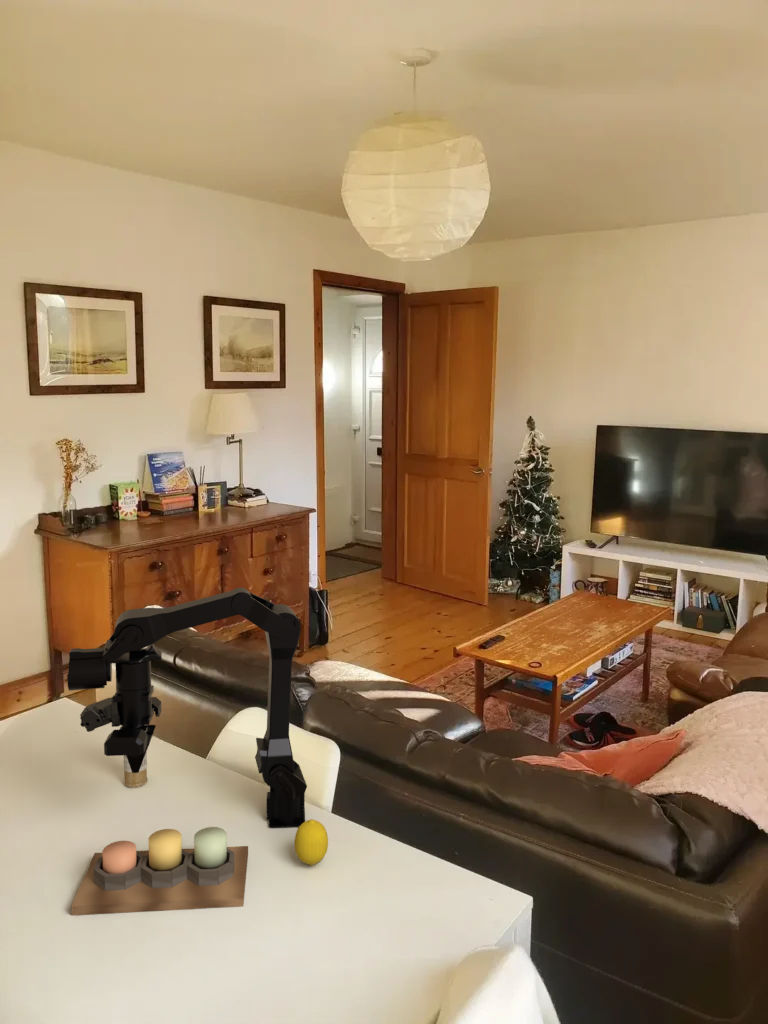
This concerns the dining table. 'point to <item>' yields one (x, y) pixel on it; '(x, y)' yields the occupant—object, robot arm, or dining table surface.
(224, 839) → the button sage
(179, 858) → the button ochre
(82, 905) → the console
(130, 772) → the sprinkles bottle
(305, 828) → the lemon
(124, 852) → the button terracotta
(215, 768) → the dining table surface
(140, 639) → the robot arm
